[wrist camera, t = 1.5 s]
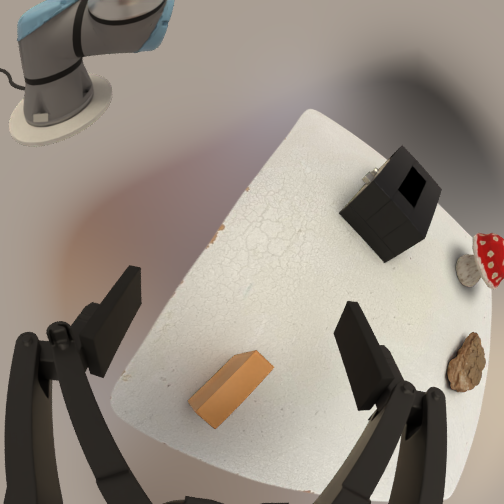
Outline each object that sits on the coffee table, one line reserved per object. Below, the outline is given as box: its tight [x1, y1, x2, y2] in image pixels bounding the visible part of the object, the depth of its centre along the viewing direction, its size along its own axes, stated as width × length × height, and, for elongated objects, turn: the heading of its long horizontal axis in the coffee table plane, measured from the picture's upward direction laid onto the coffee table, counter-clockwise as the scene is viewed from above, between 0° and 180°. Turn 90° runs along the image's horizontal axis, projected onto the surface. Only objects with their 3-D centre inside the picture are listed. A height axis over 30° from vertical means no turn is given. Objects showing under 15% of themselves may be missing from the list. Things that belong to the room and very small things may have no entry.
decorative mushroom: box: [456, 233, 504, 289], centre depth 47 cm, size 14×14×15 cm
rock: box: [447, 332, 486, 392], centre depth 39 cm, size 13×11×5 cm
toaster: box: [339, 146, 442, 263], centre depth 46 cm, size 13×18×10 cm
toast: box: [188, 350, 274, 429], centre depth 26 cm, size 2×8×8 cm, turn 137°
